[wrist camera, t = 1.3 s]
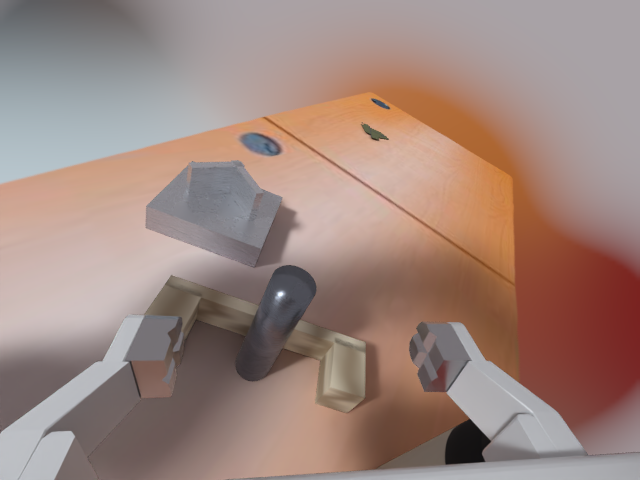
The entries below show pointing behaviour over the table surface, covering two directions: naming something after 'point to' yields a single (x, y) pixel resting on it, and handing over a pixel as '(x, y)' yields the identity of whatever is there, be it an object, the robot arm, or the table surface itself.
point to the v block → (215, 210)
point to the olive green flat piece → (373, 132)
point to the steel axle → (274, 320)
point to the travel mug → (446, 449)
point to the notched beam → (307, 339)
